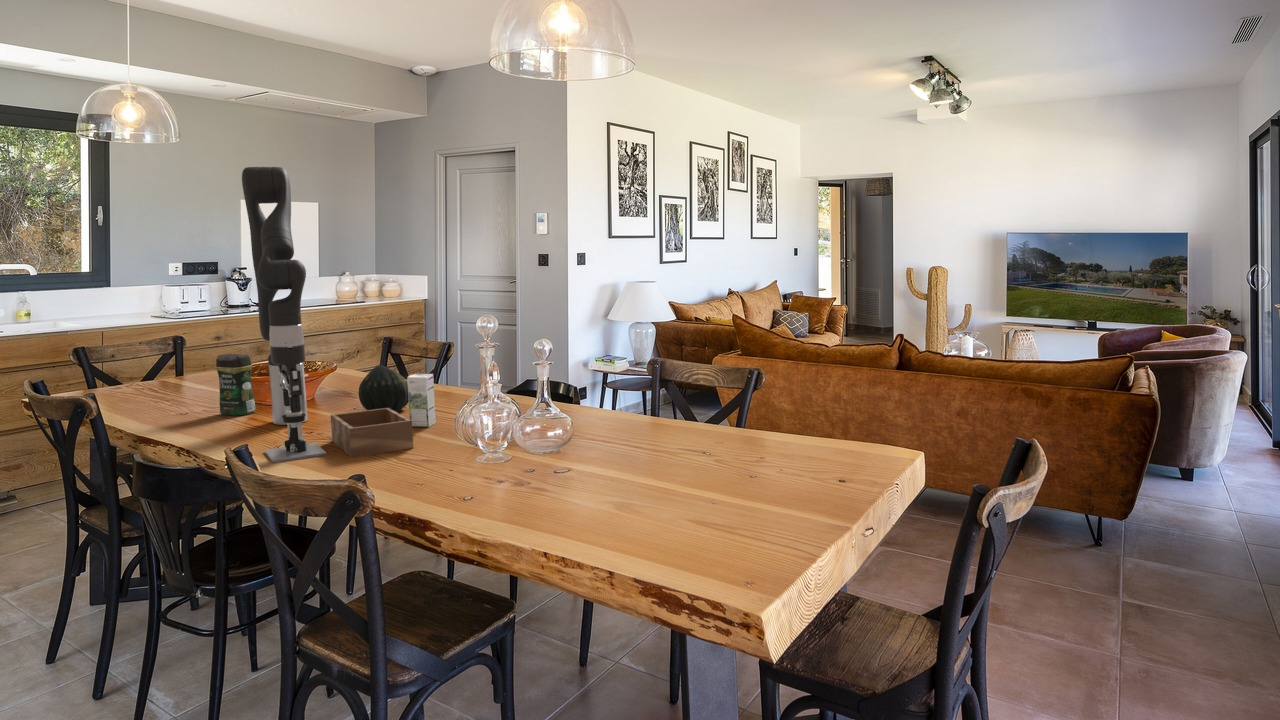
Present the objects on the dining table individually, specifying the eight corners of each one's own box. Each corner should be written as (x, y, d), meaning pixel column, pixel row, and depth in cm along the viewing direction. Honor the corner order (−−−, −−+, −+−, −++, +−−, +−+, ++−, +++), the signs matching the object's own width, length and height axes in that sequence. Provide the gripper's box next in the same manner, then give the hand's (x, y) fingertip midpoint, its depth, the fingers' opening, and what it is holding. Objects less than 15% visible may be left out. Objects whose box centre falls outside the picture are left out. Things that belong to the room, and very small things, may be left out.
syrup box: (436, 423, 226) (433, 373, 224) (429, 427, 220) (426, 376, 218) (417, 422, 227) (414, 373, 225) (409, 427, 221) (406, 376, 219)
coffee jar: (215, 415, 241) (209, 355, 238) (235, 410, 248) (230, 351, 246) (240, 417, 238) (235, 356, 235) (260, 411, 246) (255, 352, 243)
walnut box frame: (332, 441, 206) (330, 414, 205) (389, 433, 215) (388, 407, 214) (351, 457, 190) (349, 428, 189) (413, 447, 198) (411, 420, 197)
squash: (399, 399, 234) (404, 357, 242) (348, 402, 234) (355, 360, 242) (411, 422, 246) (416, 381, 254) (363, 425, 245) (370, 384, 254)
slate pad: (264, 452, 196) (264, 449, 196) (315, 445, 202) (315, 442, 202) (273, 462, 186) (272, 460, 186) (326, 454, 192) (326, 452, 192)
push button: (275, 452, 193) (271, 412, 191) (290, 447, 198) (287, 408, 197) (298, 454, 191) (295, 413, 190) (312, 448, 196) (310, 409, 195)
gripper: (265, 341, 194) (270, 405, 196) (275, 348, 182) (281, 416, 185) (297, 338, 198) (302, 402, 201) (310, 345, 186) (315, 412, 189)
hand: (292, 409), depth 193 cm, fingers open, 8 cm apart
